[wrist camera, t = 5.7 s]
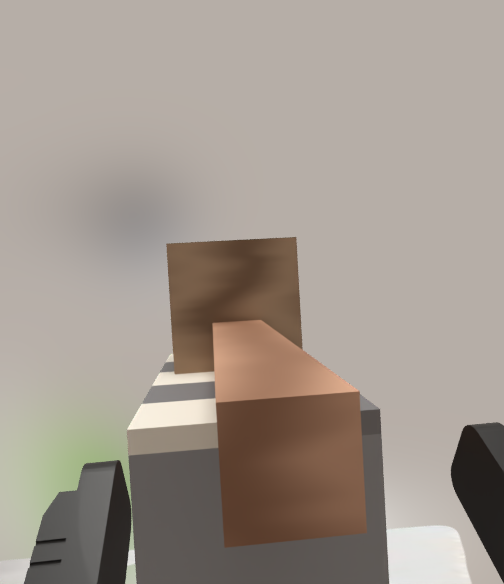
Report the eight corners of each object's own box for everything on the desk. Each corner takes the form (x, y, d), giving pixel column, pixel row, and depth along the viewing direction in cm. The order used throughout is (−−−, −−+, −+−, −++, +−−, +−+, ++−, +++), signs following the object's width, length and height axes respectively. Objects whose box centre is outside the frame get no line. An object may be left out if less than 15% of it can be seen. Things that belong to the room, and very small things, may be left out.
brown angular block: (99, 560, 10) (73, 160, 10) (182, 355, 38) (176, 252, 37) (480, 521, 10) (462, 146, 10) (284, 347, 38) (278, 246, 38)
